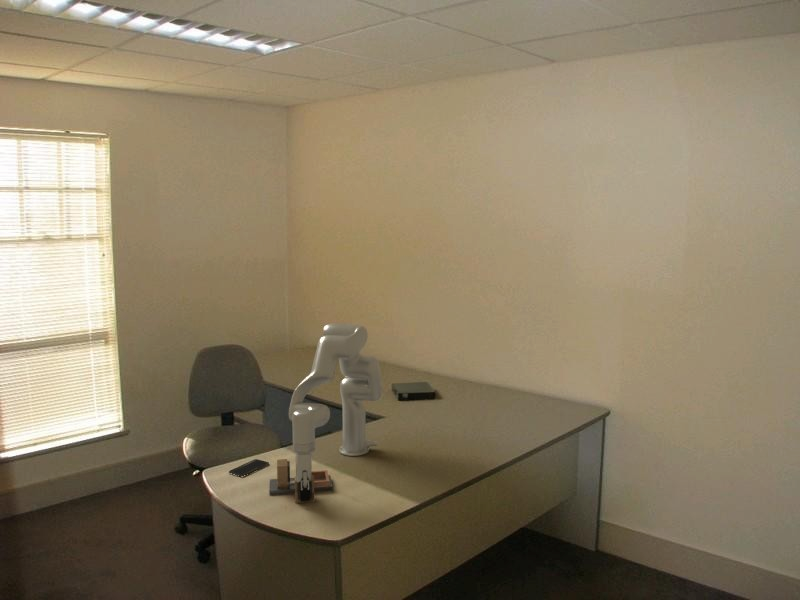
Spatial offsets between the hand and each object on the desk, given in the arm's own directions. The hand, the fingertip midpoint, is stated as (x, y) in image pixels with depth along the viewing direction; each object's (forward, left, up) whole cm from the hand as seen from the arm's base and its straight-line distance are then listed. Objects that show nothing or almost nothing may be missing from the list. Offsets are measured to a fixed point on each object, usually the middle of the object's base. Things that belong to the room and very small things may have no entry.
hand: (304, 494), depth 213 cm
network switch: (-64, -123, -3) cm, 138 cm away
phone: (+20, -32, -3) cm, 37 cm away
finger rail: (+1, -12, -2) cm, 12 cm away
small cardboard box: (0, 0, -2) cm, 2 cm away
